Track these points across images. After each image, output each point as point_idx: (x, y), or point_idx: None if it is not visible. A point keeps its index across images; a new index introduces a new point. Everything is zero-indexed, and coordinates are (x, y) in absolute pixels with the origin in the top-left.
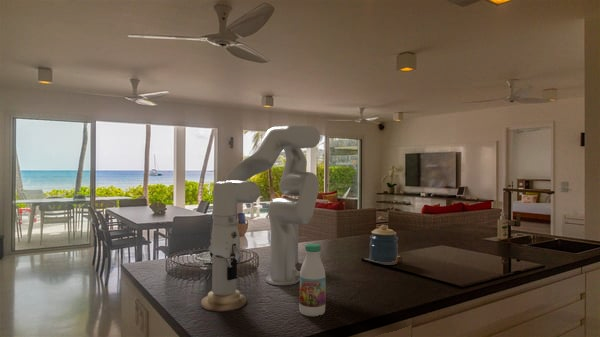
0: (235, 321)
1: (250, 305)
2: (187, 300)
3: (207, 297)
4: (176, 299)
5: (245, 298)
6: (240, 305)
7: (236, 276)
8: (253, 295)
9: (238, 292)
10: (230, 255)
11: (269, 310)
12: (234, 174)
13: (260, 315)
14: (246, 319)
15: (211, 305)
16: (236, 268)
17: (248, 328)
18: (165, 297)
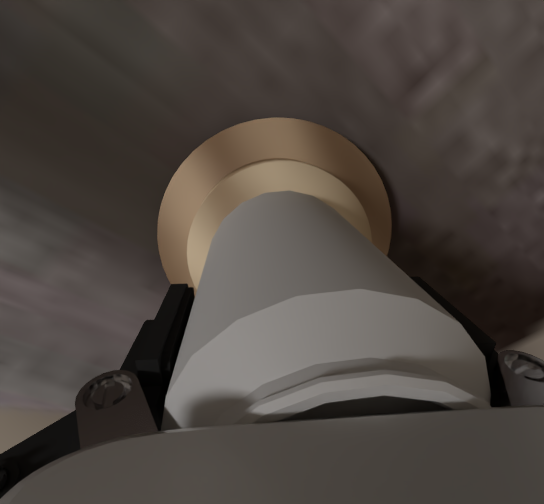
0: (463, 312)
1: (402, 163)
2: (129, 335)
3: (190, 284)
4: (86, 361)
5: (350, 148)
6: (389, 222)
7: (422, 282)
8: (300, 27)
9: (332, 187)
10: (326, 385)
11: (523, 138)
12: None
13: (516, 210)
14: (487, 275)
15: None
16: (469, 325)
17: (537, 312)
18: (30, 381)
